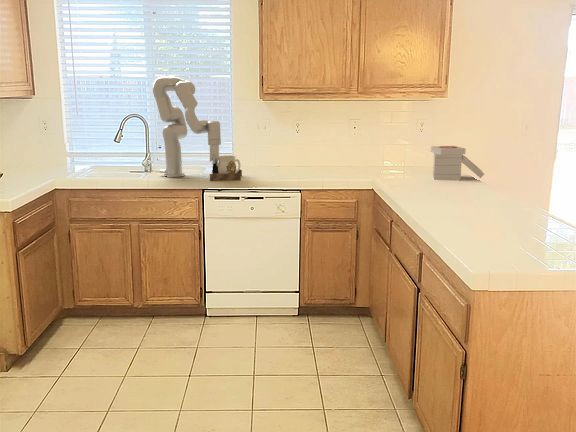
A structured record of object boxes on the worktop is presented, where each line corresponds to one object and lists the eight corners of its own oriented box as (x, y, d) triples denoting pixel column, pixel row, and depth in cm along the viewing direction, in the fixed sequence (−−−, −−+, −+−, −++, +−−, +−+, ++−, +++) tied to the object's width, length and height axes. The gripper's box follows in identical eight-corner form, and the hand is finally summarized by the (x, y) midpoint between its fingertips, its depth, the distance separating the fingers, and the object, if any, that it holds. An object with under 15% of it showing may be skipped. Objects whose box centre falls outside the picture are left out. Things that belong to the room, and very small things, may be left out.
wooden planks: (209, 181, 348) (209, 174, 347) (212, 176, 365) (212, 169, 364) (240, 180, 349) (240, 173, 348) (241, 175, 365) (241, 169, 364)
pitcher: (246, 177, 359) (245, 154, 356) (222, 181, 347) (221, 157, 344) (234, 175, 367) (234, 153, 364) (211, 179, 355) (210, 156, 351)
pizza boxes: (484, 181, 338) (486, 149, 334) (430, 180, 344) (431, 149, 340) (480, 176, 357) (482, 145, 352) (429, 174, 362) (430, 145, 358)
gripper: (209, 140, 359) (210, 170, 363) (206, 143, 344) (208, 174, 348) (221, 140, 359) (222, 170, 363) (219, 143, 344) (220, 174, 349)
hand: (215, 172), depth 356 cm, fingers closed
